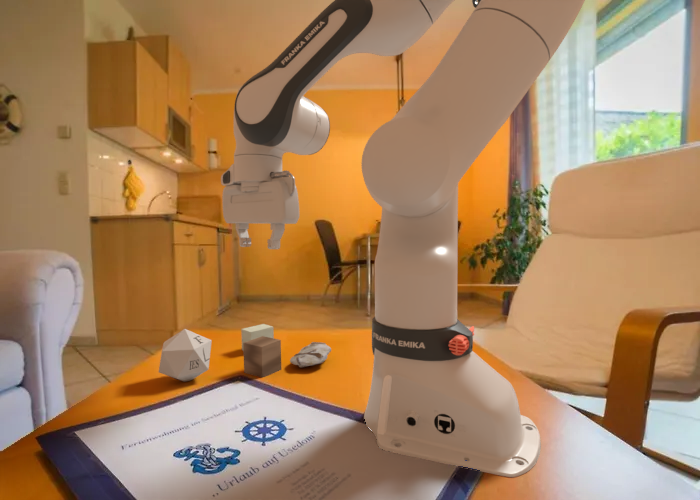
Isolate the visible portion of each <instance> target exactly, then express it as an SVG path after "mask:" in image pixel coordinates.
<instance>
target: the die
mask: <svg viewBox="0 0 700 500" xmlns="http://www.w3.org/2000/svg"><path fill="white" fill-rule="evenodd" d="M211 350H212V339H210V338H207V337H205V336H202V335H200V334H197V333H195V332H193V331H191V330H188V329H186V328H184V329H181V330H180V331H179V332H177V333H176V334H174V335H173V336H171V337H170V338H168V339H167V340H165V341H164V342H163V344H162V348H161V355H160V361H159V366H158V373H159V374H162V375H165V376H167V377H170V378H173V379H175V380H178V381H181V382H184V383H185V382H190V381H192V380H194V379H195V378H197V377H199V376H200V375H202V374H203V373H205V372H207V371H208V370H209V369H210V368H209V367H210V359H211Z"/></svg>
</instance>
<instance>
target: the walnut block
mask: <svg viewBox="0 0 700 500" xmlns="http://www.w3.org/2000/svg"><path fill="white" fill-rule="evenodd" d="M243 350H244V351H243ZM243 350H242V351H243V372H244V373H245V374H247V375H252V376H255V377H259V378H265V377H267V376H270V375H273V374H275V373H277V372H279V371H281V370H282V340H281V339H278V338H269V337H265V336H261V337H259V338H256V339H253V340H250V341H247V342H244V343H243Z"/></svg>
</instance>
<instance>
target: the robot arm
mask: <svg viewBox="0 0 700 500" xmlns="http://www.w3.org/2000/svg"><path fill="white" fill-rule="evenodd" d="M454 1H455V0H333V1H332V2H331V3H330V4H329V5H328V6H326V7H325V8H324V10H322V11H321V12H320V13H319V14H318V15H317V16H315V18H314V19H313V20H312V21H311V22H310V23H309V24H308V25H307V27H306V28H305V29H303V31H302V32H301V33H299V35H297V37H296V38H295V39H293V41H292V42H291V43H290V44H289V45H288V46H287V47H286V48H285V49H284V50H283V51H282V52H281V53H280V54H279V55H278V56H277V57H276V58H275V59H274V60H273V61H272V62H271V63H270V64H268V65H267V66H266V67H265V68H263V69H262V70H260V71H258V72H257V73H256V74H254V75H253V76H251V77H250V78H248V79H247V80H246V82H244V83H243V84H242V85H241V86H240V87H239V88H238V90H237V93H236V96H235V100H234V106H233V107H234V109H233V136H234V140H235V149H234V153H233V163H232V164H231V165H230V167H228V169H227V170H226V171H224V172H223V173H222V174H221V176H220V184H221V185H222V186H224V188H222V189H223V190H222V215H223V219H224V221H225V223H226V224H235V230H236V233H237V236H238V238H239V246H240V247H242V248H248V247H249V248H250V247H251V246H252V237H250V235H249V232H248V230H249V227H250V226H249V225H250V224H267V225H268V224H269V225H270V231H271V234H270V238H268V239H267V249H268V250H279V249H281V240H282V237H283V236H284V234H285V233H284V232H285V230H286V229H285V228H286V227H285V226H286V225H289V224H291V225H292V224H295V225H296V224H297V223H298V221H299V220H300V203H299V193H298V188H297V186H296V185H297V184H296V177H295V176H294V175H293V174H292V173H291V172H290V170H283V157H284V154H286V153H292V154H295V155H299V156H311V155H314V154H316V153H318V152H320V151H321V150H322V149H323V147H324V146H325V145H326V144H327V142H328V139H329V136H330V133H331V132H330V131H331V122H330V118H329V115H328V113H327V112H326V111H325V109H324V108H322V107H321V106H320V105H319V104H317V103H316V102H314V101H313V100H311V99H309V97H306V96H305V95H306V93H307V92H308V91H310V89H311V88H312V87H313V86H314V85H315V84H316V83H318V81H320V79H322V77H324V75H326V73H327V72H328V71H330V70H331V69H332V68H333V67H334V66H335V65H336V64H337V63H338V62H339V61H341V60H343V59H344V58H346V57H348V56H351V55H354V54H372V55H374V56H380V57H394V56H399V55H401V54H403V53H405V52H406V51H407V50H409V49H410V48H411V47H412V46H414V45H415V44H416V43H417V42H418V41H419V40H420V39H421V38H422V37H423V36H424V35H425V34H426V33H427V32H428V31H429V29H430V28H431V27H432V26H433V25H434V24H435V23H436V21H438V19H440V18H441V15H442V14H443V13H444V12H445V11H446V10H447V8H449V6H451V4H452V3H453V2H454ZM585 1H586V0H471V2H472V6H473V7H474V10H473V11H472V13H471V14H470V16H469V17H468V19H467V20H466V22H465V24H464V25H463V26H462V27H461V30H460V31H459V32H458V34H457V36H456V37H455V38H454V40H453V42H452V43H451V45H450V47H449V48H448V49H447V51H446V53H445V54H444V55H443V57H442V58H441V60H440V61H439V63H438V64H437V66H436V67H435V69H434V70H433V71H432V72H431V74H430V75H429V77H428V78H427V79H426V80H425V82H423V84H422V85H421V86H420V87H419V89H418V90H416V92H414V94H412V96H411V97H410V98H409V99H408V100H407V101H406V102H405V103H404V105H403V106H402V107H401V108H400V109H399V110H398V111H397V113H396V114H395V115H394V116H393V118H391V119H390V120H389V121H387V122H385V123H383V124H382V125H381V126H379V127H378V128H377V129H376V130H375V131H373V133H372V135H370V137H369V138H368V140H367V142H366V144H365V146H364V149H363V152H362V156H361V173H362V177H363V181H364V184H365V186H366V189H367V191H368V193H369V195H370V196H371V198H372V199H373V200H374V201H375V203H377V204H378V205H379V206H380V207H381V219H380V229H379V235H378V243H377V248H376V249H377V250H376V255H375V259H374V317H373V318H372V319H371V349H372V355H373V365H372V366H373V367H372V375H371V376H372V377H371V384H370V389H369V390H370V391H369V396H368V400H367V405H366V408H365V411H364V413H363V420H364V419H365V421H364V423H365V422H366V424H367V426H368V427H369V428H370V429H371V430H372V432H373V433H374V434H375V435H376V436H375V435H374V434H373V433H372V432H371V433H372V434H373V435H374V436H375V440H376V439H377V440H376V444H377V446H379V447H380V448H381V449H380V448H379V447H378V448H379V449H380V450H382V449H383V450H382V451H384V450H385V451H384V452H388V451H391V452H390V453H393V454H397V453H398V454H397V455H402V456H407V457H412V458H417V459H421V460H427V461H431V462H436V463H440V464H445V465H449V464H452V465H451V466H453V465H457V466H456V467H458V466H463V467H468V468H473V469H477V470H480V471H479V472H483V473H488V474H492V475H497V476H502V477H504V478H506V477H507V478H517V477H519V476H522V475H524V474H526V473H528V472H529V471H530V470H531V469H533V468H534V467H535V465H536V463H537V462H538V460H539V457H540V455H541V451H542V450H541V447H542V446H541V445H542V444H541V435H540V431H539V429H538V427H537V425H536V424H535V422H534V421H533V420H532V419H531V418H529V417H528V416H525V415H522V414H521V410H520V405H519V399H518V397H517V394H516V393H517V392H516V391H515V389H514V387H513V385H512V383H511V382H510V381H509V380H508V379H507V378H505V377H504V376H503V375H501V374H500V373H499V372H497V370H496V369H494V368H493V367H492V366H491V365H489V363H487V362H486V361H485V360H483V359H482V357H480V356H479V355H478V354H477V353H476V352H474V351H473V346H474V343H473V342H474V340H473V338H474V336H475V326H474V325H472V326H470V328H468V327H467V326H466V325H465V324H463V323H462V322H461V321H460V320H459V319H458V275H459V274H458V272H459V271H458V270H459V269H458V267H459V266H458V262H459V260H458V257H459V255H458V254H459V253H458V249H459V248H458V245H459V244H458V242H459V241H458V239H459V238H458V237H459V236H458V232H459V231H458V230H459V228H458V227H459V225H458V224H459V222H458V221H459V220H458V219H459V216H458V214H459V183H460V181H461V180H462V179H463V177H464V175H465V174H466V173H467V171H468V170H469V169H470V167H471V166H472V165H473V163H474V162H475V161H476V159H477V158H478V157H479V156H480V154H481V153H482V152H483V151H484V149H485V148H486V147H487V146H488V144H489V143H490V141H491V140H492V139H493V138H494V137H495V135H496V134H497V133H498V131H499V130H500V129H501V128H502V127H503V126H504V124H506V122H507V121H508V119H509V117H511V114H512V113H513V112H514V111H515V110H516V108H517V107H518V105H519V104H520V102H521V101H522V100H523V98H524V97H525V96H526V94H527V92H528V91H529V90H530V89H531V87H532V86H533V85H534V83H535V82H536V80H537V79H538V77H539V76H540V74H541V73H542V72H543V71H544V69H545V68H546V66H547V65H548V64H549V62H550V61H551V59H552V58H553V56H554V54H555V53H556V52H557V51H558V50H559V47H560V45H561V44H562V42H563V41H564V40H565V38H566V36H567V34H568V33H569V31H570V29H571V27H572V26H573V24H574V22H575V20H576V19H577V17H578V15H579V12H580V11H581V10H582V7H583V5H584V3H585ZM366 424H365V425H366ZM367 426H366V427H367ZM465 460H467V461H465ZM463 467H462V468H463ZM468 468H467V469H468ZM477 470H476V471H477Z"/></svg>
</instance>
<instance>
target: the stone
mask: <svg viewBox="0 0 700 500" xmlns="http://www.w3.org/2000/svg"><path fill="white" fill-rule="evenodd" d="M331 352H332V348H331V347H330V346H329V345H327V344H326V343H325V342H320V341H318V342H317V341H311V343H309V344H308V345H305V346H304V347H302V348H301V349H300V351H298V353H296V354H294V356H292V357H290V359H289V361H290V364H293V365H295V366H298V368H307V367H309V366H315V365H320V364H323V363H324V362H325V361H326V360H327V359H328V355H329V354H330V353H331Z"/></svg>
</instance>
